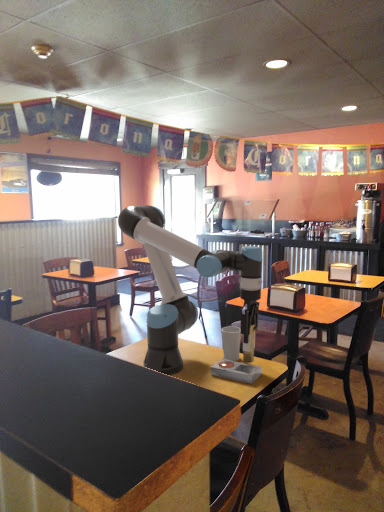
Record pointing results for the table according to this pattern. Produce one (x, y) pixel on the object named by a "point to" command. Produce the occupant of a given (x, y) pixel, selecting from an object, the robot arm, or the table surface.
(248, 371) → the plate with copper dome
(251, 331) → the brass cylinder with tabs
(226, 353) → the cup
